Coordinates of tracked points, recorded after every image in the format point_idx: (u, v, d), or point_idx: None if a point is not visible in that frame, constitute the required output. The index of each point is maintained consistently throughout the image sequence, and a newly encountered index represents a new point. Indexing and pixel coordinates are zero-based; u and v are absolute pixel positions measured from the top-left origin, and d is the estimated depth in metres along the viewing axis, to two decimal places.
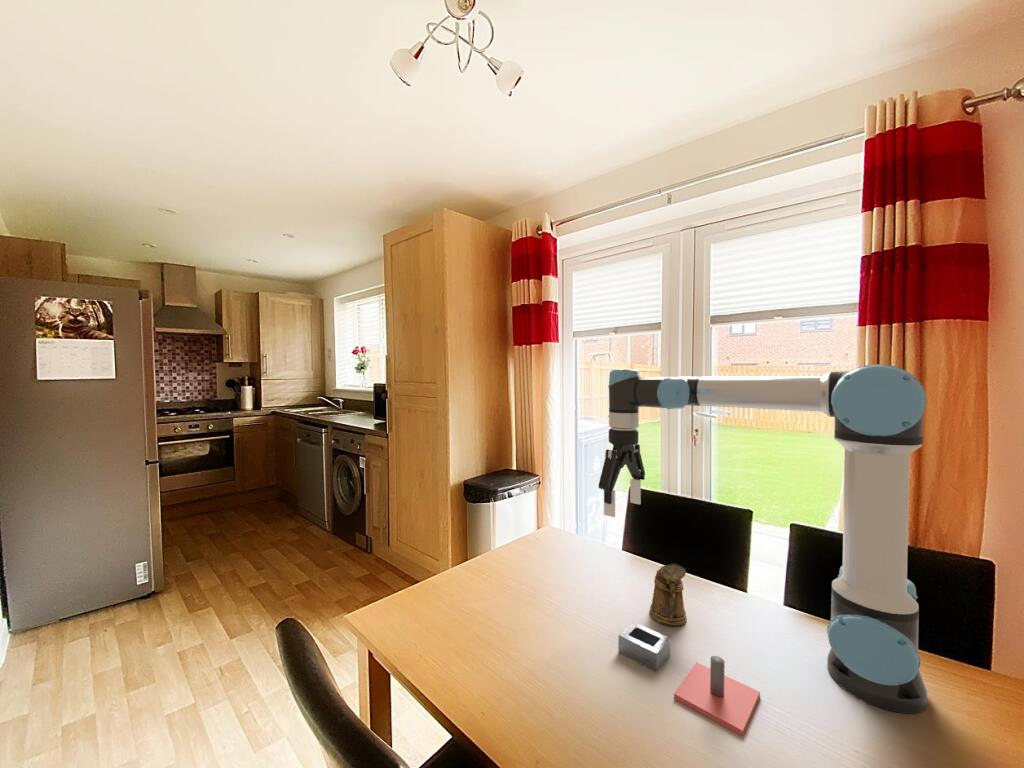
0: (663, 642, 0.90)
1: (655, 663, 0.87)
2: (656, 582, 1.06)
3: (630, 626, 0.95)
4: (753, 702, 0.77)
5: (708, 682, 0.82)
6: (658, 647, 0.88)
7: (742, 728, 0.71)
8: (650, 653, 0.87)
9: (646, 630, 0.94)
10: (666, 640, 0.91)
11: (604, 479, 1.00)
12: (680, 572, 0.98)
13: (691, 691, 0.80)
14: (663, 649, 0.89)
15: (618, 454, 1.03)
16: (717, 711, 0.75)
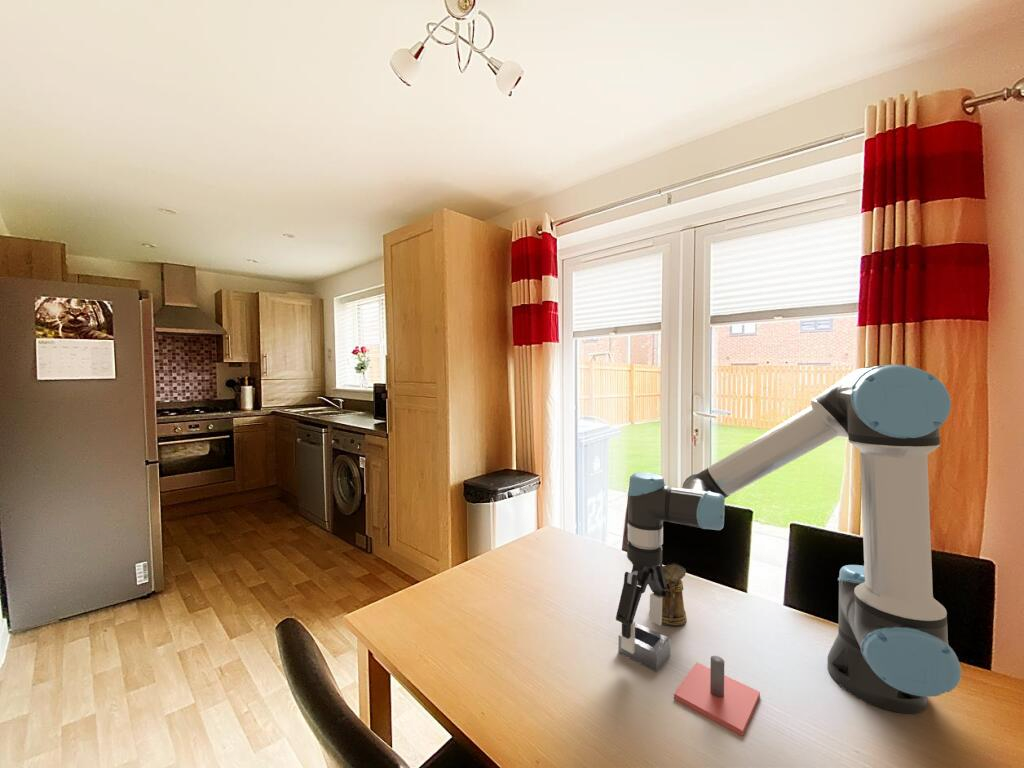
0: (663, 642, 0.90)
1: (655, 663, 0.87)
2: None
3: None
4: (753, 702, 0.77)
5: (708, 682, 0.82)
6: (658, 647, 0.88)
7: (742, 728, 0.71)
8: (650, 653, 0.87)
9: (646, 630, 0.94)
10: (666, 640, 0.91)
11: (623, 611, 0.85)
12: (680, 572, 0.98)
13: (691, 691, 0.80)
14: (663, 649, 0.89)
15: (639, 577, 0.88)
16: (717, 711, 0.75)
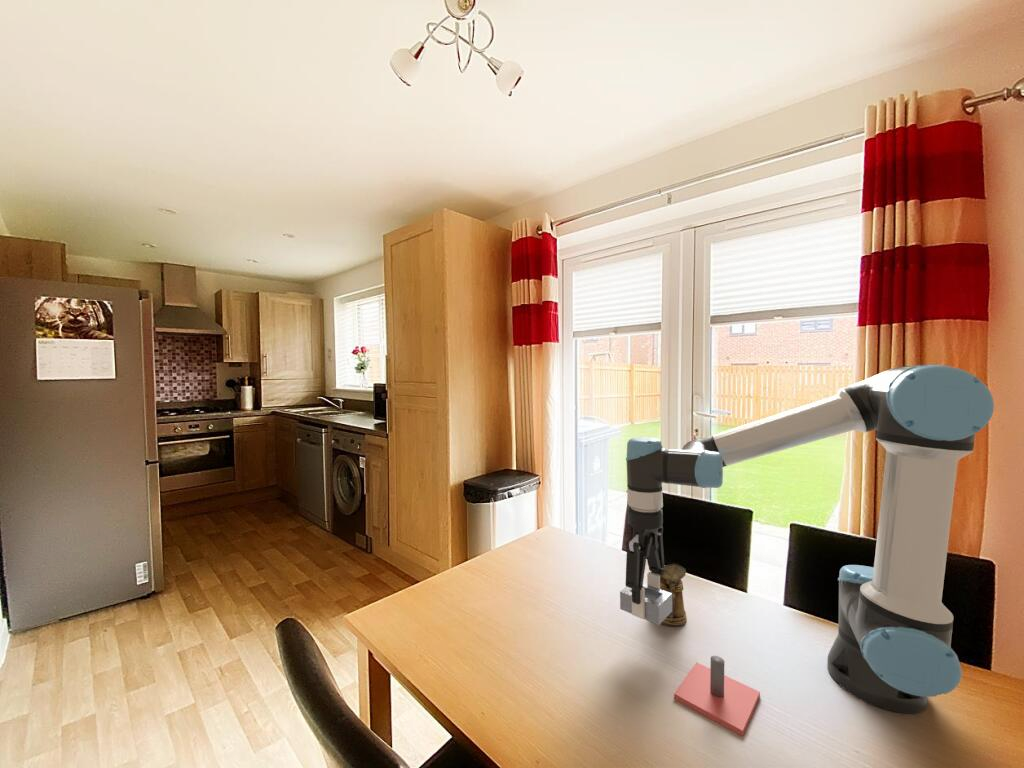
0: (665, 597, 0.90)
1: (657, 616, 0.86)
2: None
3: None
4: (753, 702, 0.77)
5: (708, 682, 0.82)
6: (660, 601, 0.88)
7: (742, 728, 0.71)
8: (652, 606, 0.87)
9: (648, 587, 0.94)
10: (668, 595, 0.90)
11: (631, 578, 0.86)
12: (680, 572, 0.98)
13: (691, 691, 0.80)
14: (665, 603, 0.88)
15: (640, 541, 0.88)
16: (717, 711, 0.75)
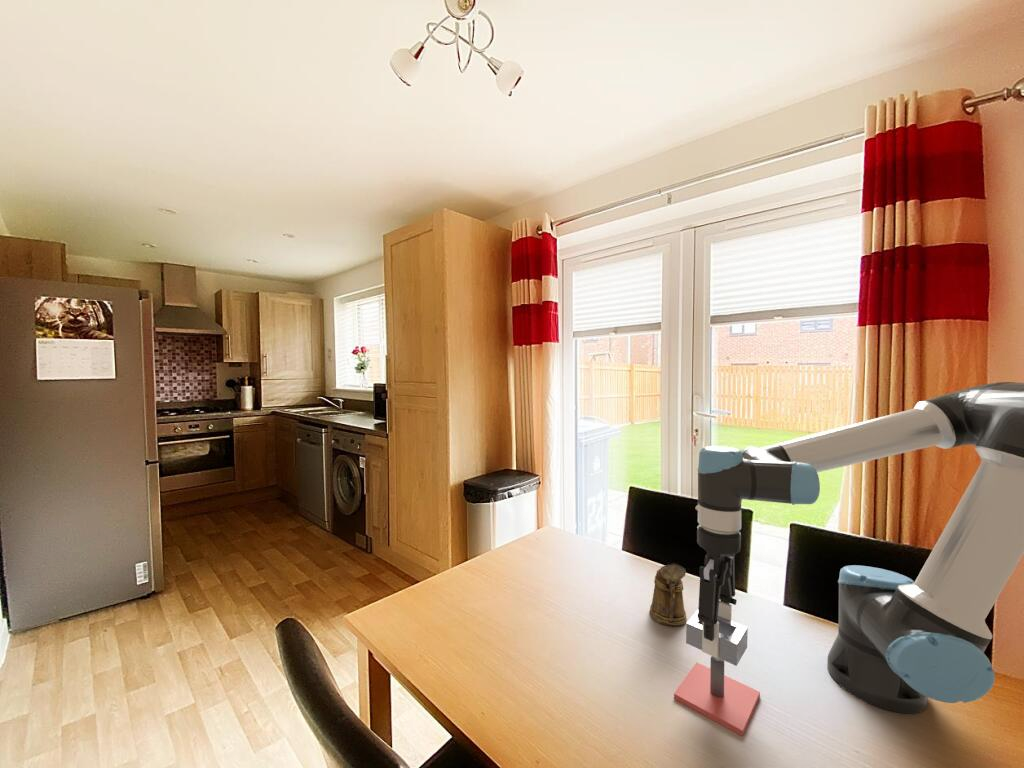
0: (741, 631, 0.77)
1: (735, 655, 0.74)
2: (656, 582, 1.06)
3: None
4: (753, 702, 0.77)
5: (708, 682, 0.82)
6: (736, 637, 0.76)
7: (742, 728, 0.71)
8: (728, 644, 0.75)
9: (717, 618, 0.81)
10: (743, 629, 0.78)
11: (705, 610, 0.74)
12: (680, 572, 0.98)
13: (691, 691, 0.80)
14: (742, 639, 0.76)
15: (716, 568, 0.76)
16: (717, 711, 0.75)
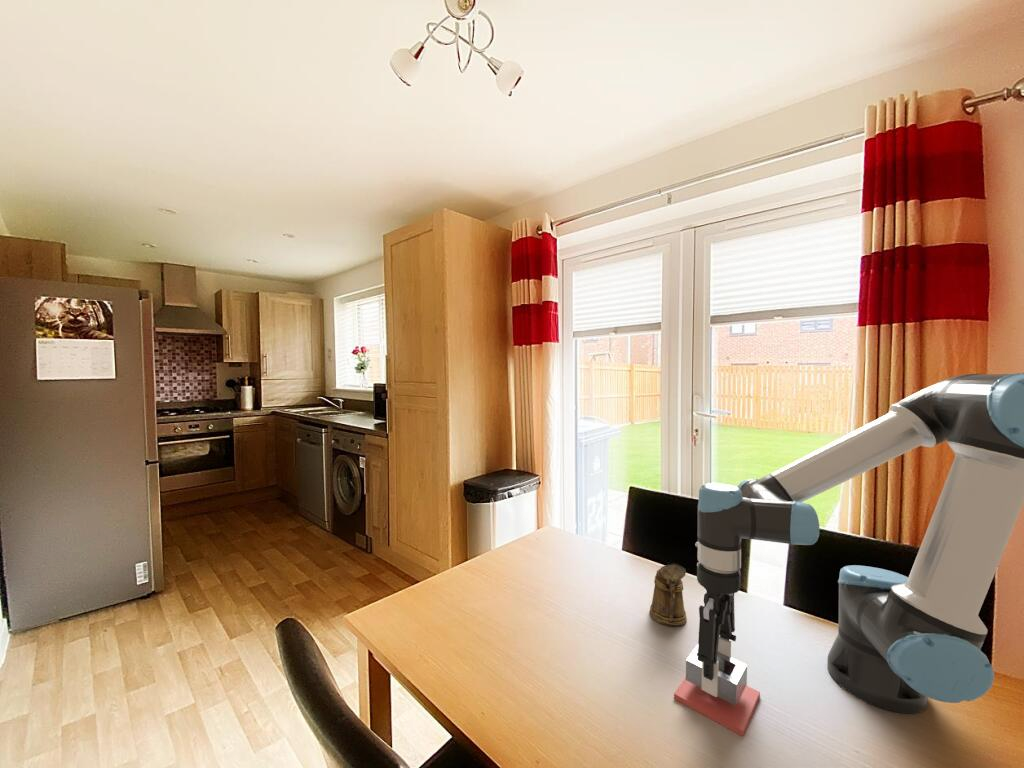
0: (740, 670, 0.77)
1: (734, 695, 0.74)
2: (656, 582, 1.06)
3: (697, 649, 0.83)
4: (753, 702, 0.77)
5: None
6: (736, 676, 0.76)
7: (742, 728, 0.71)
8: (727, 683, 0.75)
9: None
10: (743, 667, 0.78)
11: (704, 650, 0.74)
12: (680, 572, 0.98)
13: (691, 691, 0.80)
14: (741, 678, 0.76)
15: (716, 607, 0.76)
16: (717, 711, 0.75)
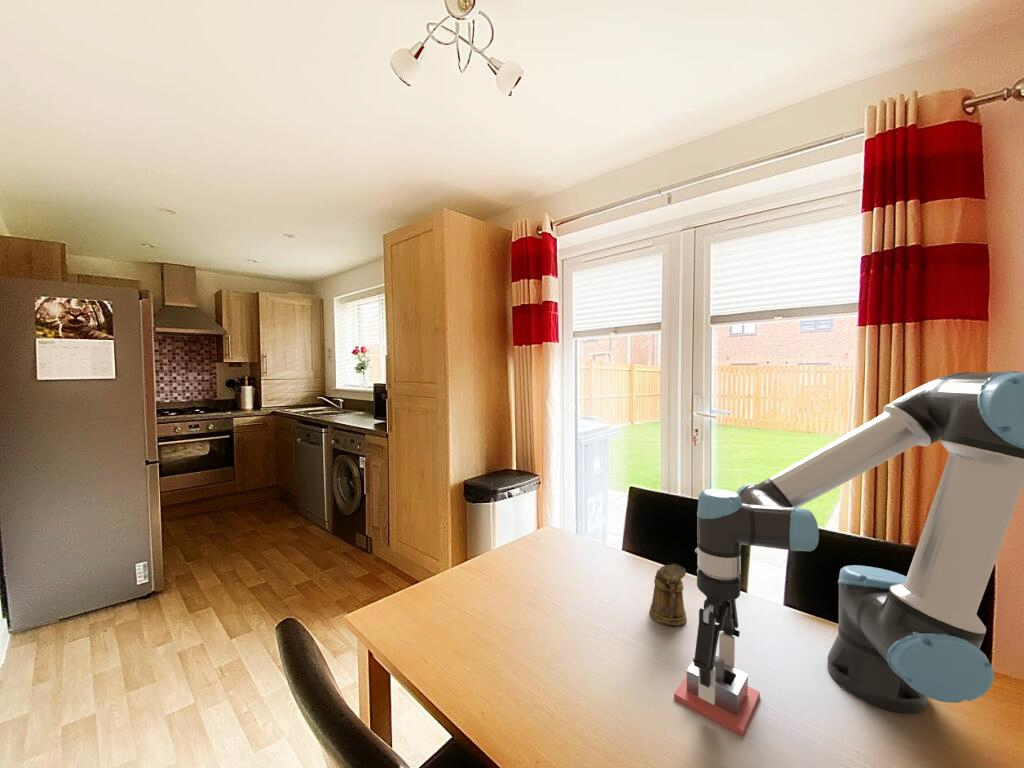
0: (741, 680, 0.77)
1: (735, 706, 0.74)
2: (656, 582, 1.06)
3: None
4: (753, 702, 0.77)
5: None
6: (737, 686, 0.76)
7: (742, 728, 0.71)
8: (728, 694, 0.75)
9: None
10: (744, 677, 0.78)
11: (702, 656, 0.73)
12: (680, 572, 0.98)
13: None
14: (742, 688, 0.76)
15: (715, 613, 0.76)
16: (717, 711, 0.75)
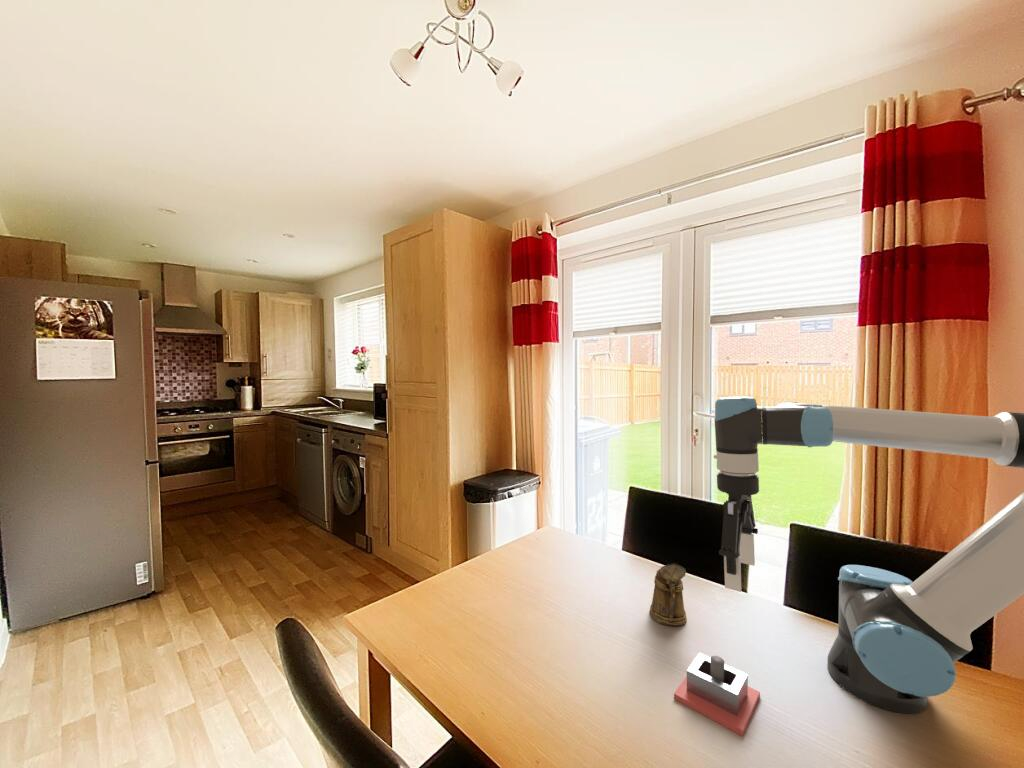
0: (741, 680, 0.77)
1: (735, 706, 0.74)
2: (656, 582, 1.06)
3: (697, 659, 0.83)
4: (753, 702, 0.77)
5: None
6: (737, 686, 0.76)
7: (742, 728, 0.71)
8: (728, 694, 0.75)
9: None
10: (744, 677, 0.78)
11: (728, 543, 0.76)
12: (680, 572, 0.98)
13: None
14: (742, 688, 0.76)
15: (738, 507, 0.80)
16: (717, 711, 0.75)
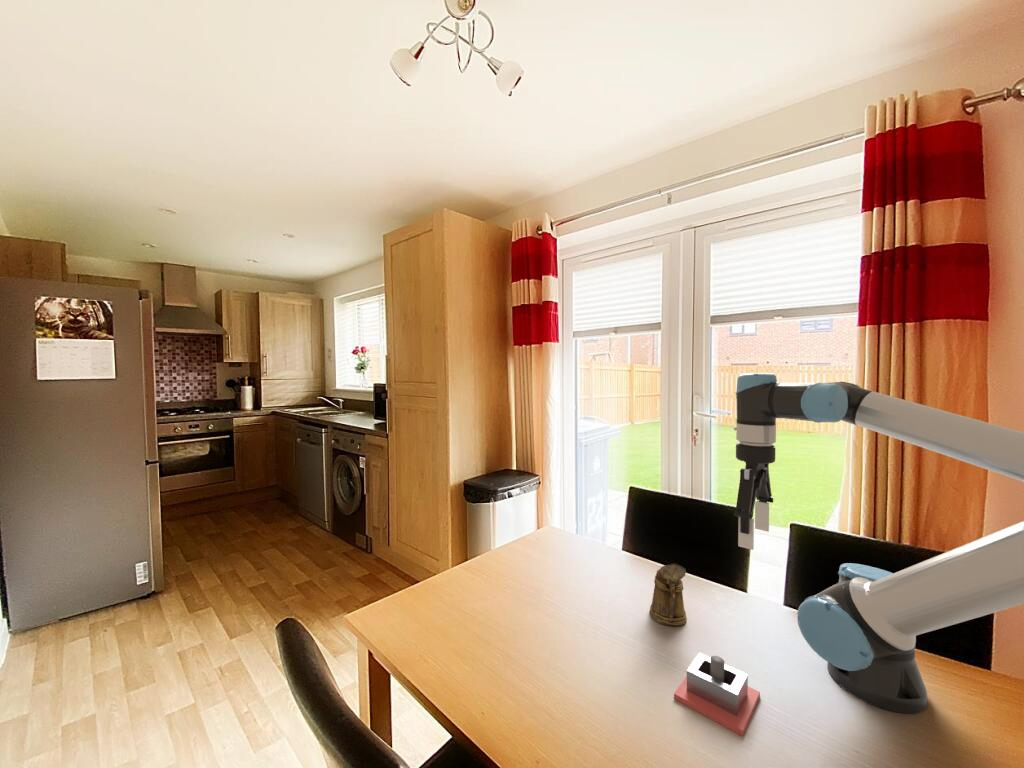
0: (741, 680, 0.77)
1: (735, 706, 0.74)
2: (656, 582, 1.06)
3: (697, 659, 0.83)
4: (753, 702, 0.77)
5: None
6: (737, 686, 0.76)
7: (742, 728, 0.71)
8: (728, 694, 0.75)
9: None
10: (744, 677, 0.78)
11: (743, 505, 0.84)
12: (680, 572, 0.98)
13: None
14: (742, 688, 0.76)
15: (754, 474, 0.87)
16: (717, 711, 0.75)
